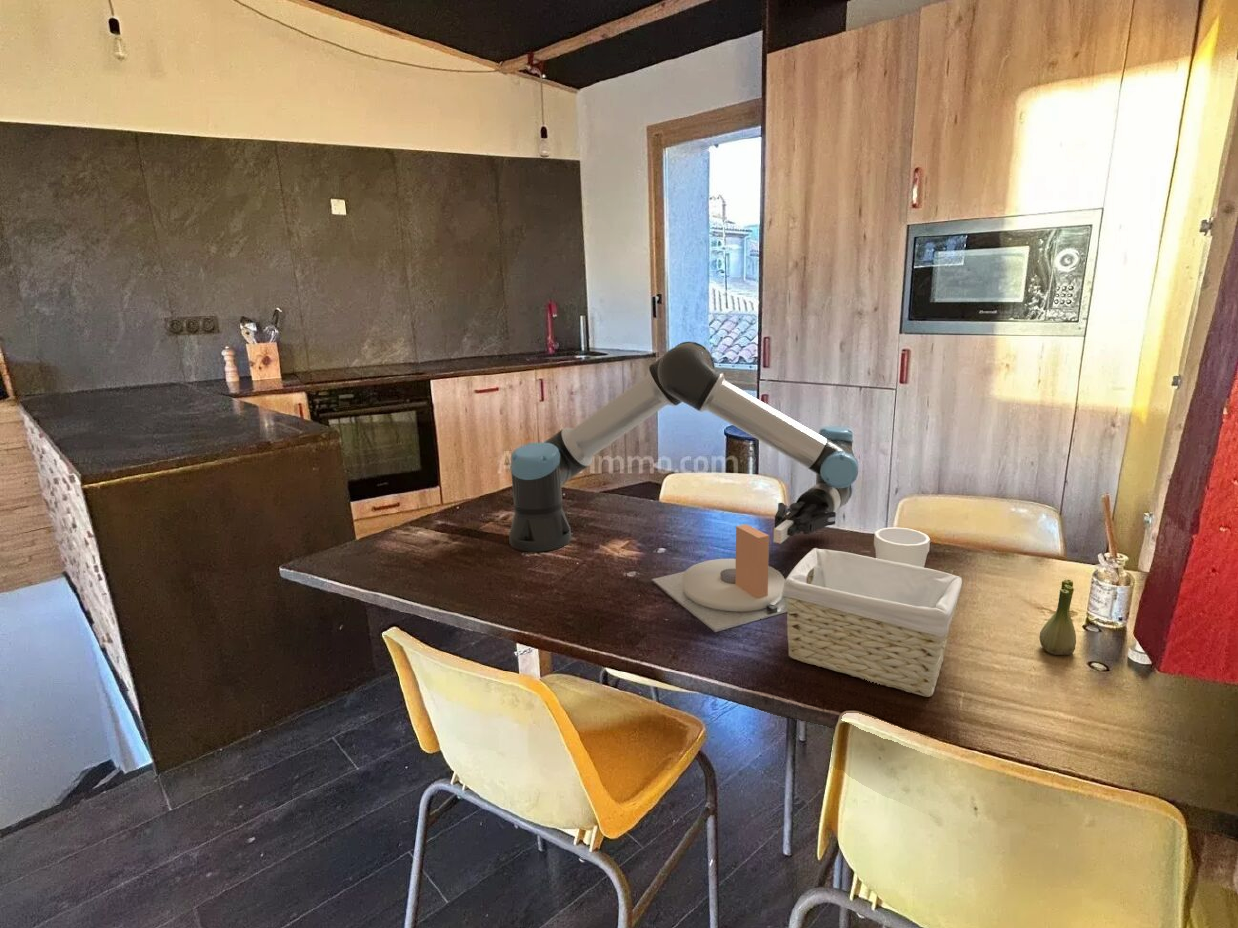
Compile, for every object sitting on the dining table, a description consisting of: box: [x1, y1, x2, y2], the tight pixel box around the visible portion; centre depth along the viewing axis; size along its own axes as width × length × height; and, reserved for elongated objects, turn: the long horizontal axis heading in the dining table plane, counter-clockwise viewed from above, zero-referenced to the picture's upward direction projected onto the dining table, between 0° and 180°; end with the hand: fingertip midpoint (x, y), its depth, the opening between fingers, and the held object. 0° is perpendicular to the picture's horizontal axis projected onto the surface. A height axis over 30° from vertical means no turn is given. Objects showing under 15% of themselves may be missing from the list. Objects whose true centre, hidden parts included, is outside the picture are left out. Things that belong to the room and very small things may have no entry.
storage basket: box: [783, 547, 963, 698], centre depth 104 cm, size 24×16×15 cm
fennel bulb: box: [1039, 578, 1077, 656], centre depth 105 cm, size 6×5×12 cm
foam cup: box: [873, 526, 931, 568], centre depth 123 cm, size 10×9×13 cm
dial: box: [683, 523, 786, 611], centre depth 129 cm, size 20×20×14 cm
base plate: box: [651, 571, 787, 633], centre depth 131 cm, size 24×24×1 cm
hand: (777, 536), depth 128 cm, fingers closed
